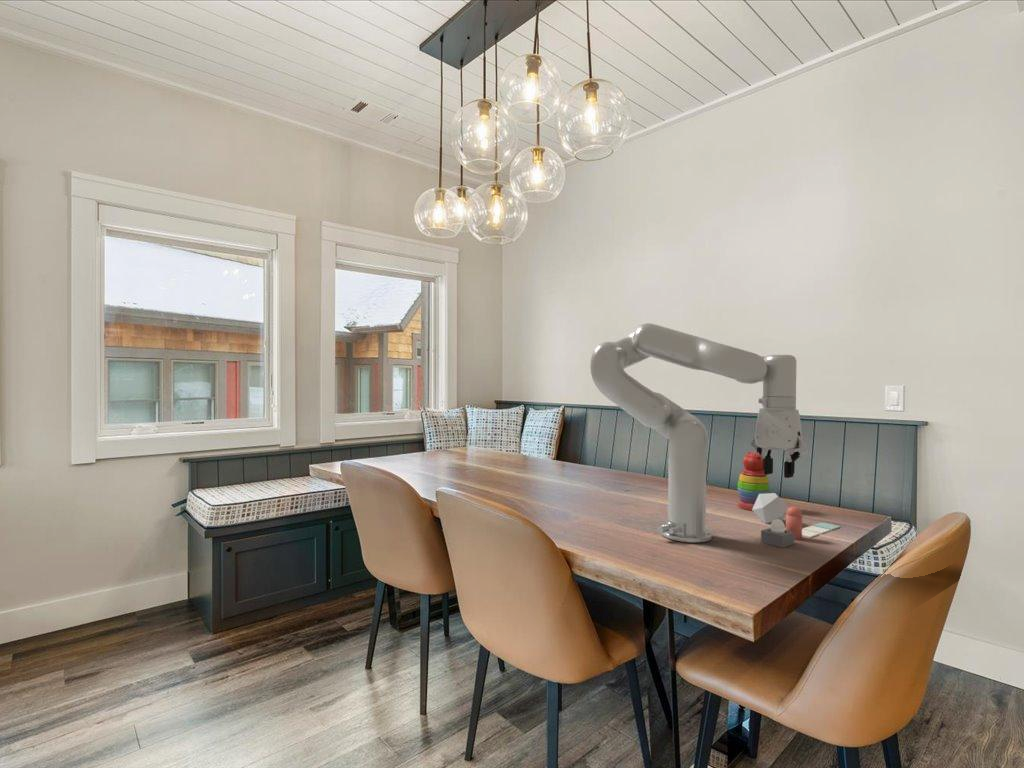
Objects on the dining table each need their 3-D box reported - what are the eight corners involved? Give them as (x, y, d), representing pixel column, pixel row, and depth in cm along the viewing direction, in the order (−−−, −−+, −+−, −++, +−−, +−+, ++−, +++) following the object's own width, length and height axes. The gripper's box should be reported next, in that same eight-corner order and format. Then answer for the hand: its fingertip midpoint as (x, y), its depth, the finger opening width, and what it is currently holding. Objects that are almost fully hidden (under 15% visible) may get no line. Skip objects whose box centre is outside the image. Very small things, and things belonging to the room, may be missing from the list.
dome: (780, 537, 136) (780, 521, 136) (768, 533, 139) (768, 519, 139) (787, 534, 138) (787, 519, 138) (774, 531, 141) (775, 517, 141)
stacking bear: (778, 511, 170) (779, 454, 170) (747, 512, 170) (747, 455, 170) (761, 503, 181) (761, 450, 181) (731, 503, 181) (731, 450, 180)
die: (788, 530, 153) (798, 498, 157) (760, 514, 153) (770, 483, 157) (769, 532, 161) (779, 502, 165) (743, 517, 161) (753, 487, 165)
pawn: (797, 540, 141) (797, 509, 141) (782, 537, 144) (783, 506, 144) (804, 538, 143) (805, 507, 143) (790, 534, 146) (790, 504, 146)
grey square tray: (782, 547, 135) (782, 535, 135) (760, 542, 139) (761, 530, 139) (794, 543, 138) (794, 532, 138) (772, 538, 143) (772, 526, 143)
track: (810, 537, 143) (810, 536, 143) (791, 533, 147) (791, 532, 147) (830, 530, 150) (830, 529, 150) (811, 526, 154) (811, 525, 154)
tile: (831, 530, 150) (831, 529, 150) (813, 526, 154) (813, 525, 154) (840, 527, 153) (840, 526, 153) (821, 523, 157) (821, 522, 157)
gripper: (739, 402, 143) (739, 472, 143) (805, 405, 129) (804, 482, 129) (755, 401, 147) (755, 469, 147) (821, 404, 133) (820, 479, 134)
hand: (778, 474), depth 138 cm, fingers open, 4 cm apart
